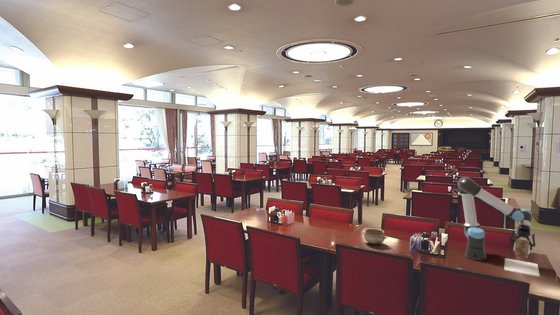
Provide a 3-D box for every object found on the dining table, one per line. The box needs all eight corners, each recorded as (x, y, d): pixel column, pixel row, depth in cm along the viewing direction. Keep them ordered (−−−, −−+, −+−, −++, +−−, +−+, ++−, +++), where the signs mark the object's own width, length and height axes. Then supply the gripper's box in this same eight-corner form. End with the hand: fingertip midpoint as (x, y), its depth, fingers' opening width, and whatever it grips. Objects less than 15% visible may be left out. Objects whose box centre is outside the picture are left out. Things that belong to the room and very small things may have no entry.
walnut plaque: (514, 255, 237) (515, 239, 237) (515, 253, 241) (516, 238, 240) (527, 257, 232) (528, 242, 231) (528, 256, 235) (529, 240, 235)
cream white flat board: (539, 277, 214) (539, 276, 214) (504, 270, 227) (504, 269, 227) (537, 265, 237) (537, 264, 237) (505, 259, 249) (505, 258, 249)
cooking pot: (391, 244, 286) (391, 231, 285) (382, 249, 272) (382, 235, 271) (366, 238, 303) (366, 226, 302) (357, 243, 289) (357, 230, 289)
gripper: (541, 232, 240) (539, 258, 229) (508, 227, 254) (504, 251, 243) (541, 226, 236) (539, 252, 224) (507, 221, 250) (504, 245, 238)
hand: (521, 251), depth 233 cm, fingers closed on walnut plaque, 8 cm apart
